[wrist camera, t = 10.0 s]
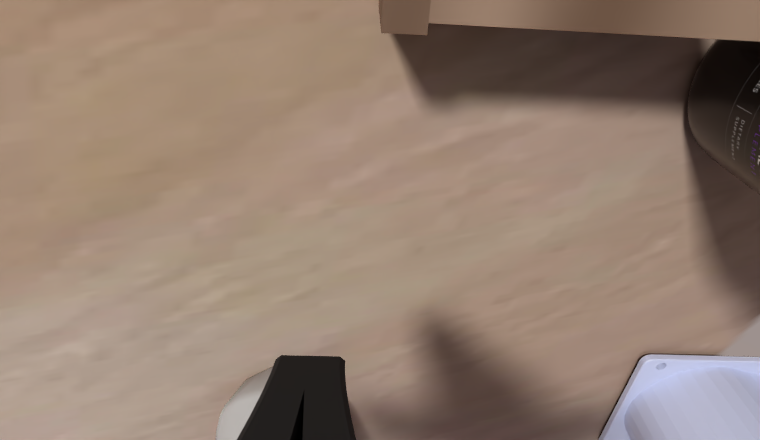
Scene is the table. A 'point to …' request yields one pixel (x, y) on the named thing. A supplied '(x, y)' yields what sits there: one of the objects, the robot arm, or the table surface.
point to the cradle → (582, 16)
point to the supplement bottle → (729, 108)
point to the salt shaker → (241, 406)
